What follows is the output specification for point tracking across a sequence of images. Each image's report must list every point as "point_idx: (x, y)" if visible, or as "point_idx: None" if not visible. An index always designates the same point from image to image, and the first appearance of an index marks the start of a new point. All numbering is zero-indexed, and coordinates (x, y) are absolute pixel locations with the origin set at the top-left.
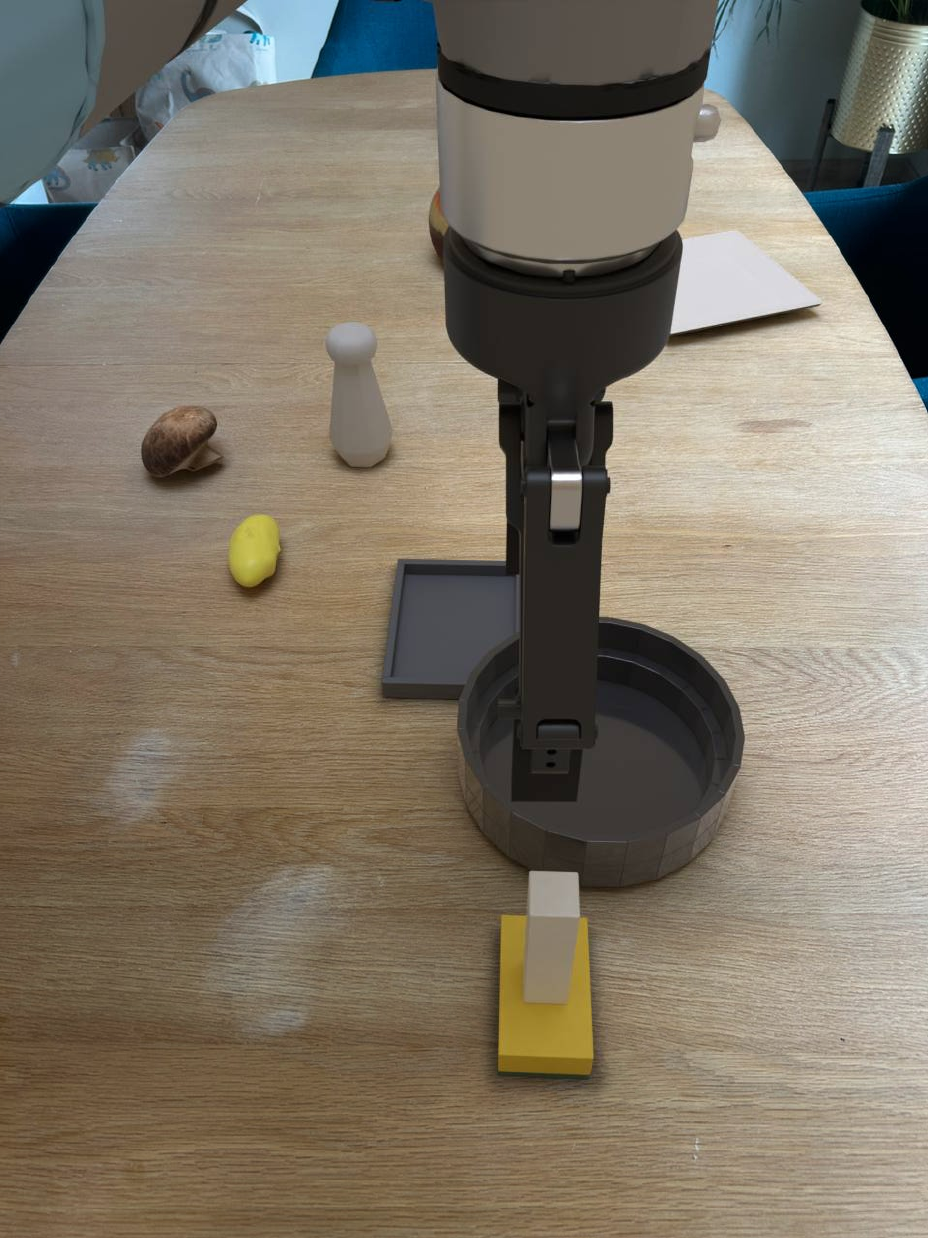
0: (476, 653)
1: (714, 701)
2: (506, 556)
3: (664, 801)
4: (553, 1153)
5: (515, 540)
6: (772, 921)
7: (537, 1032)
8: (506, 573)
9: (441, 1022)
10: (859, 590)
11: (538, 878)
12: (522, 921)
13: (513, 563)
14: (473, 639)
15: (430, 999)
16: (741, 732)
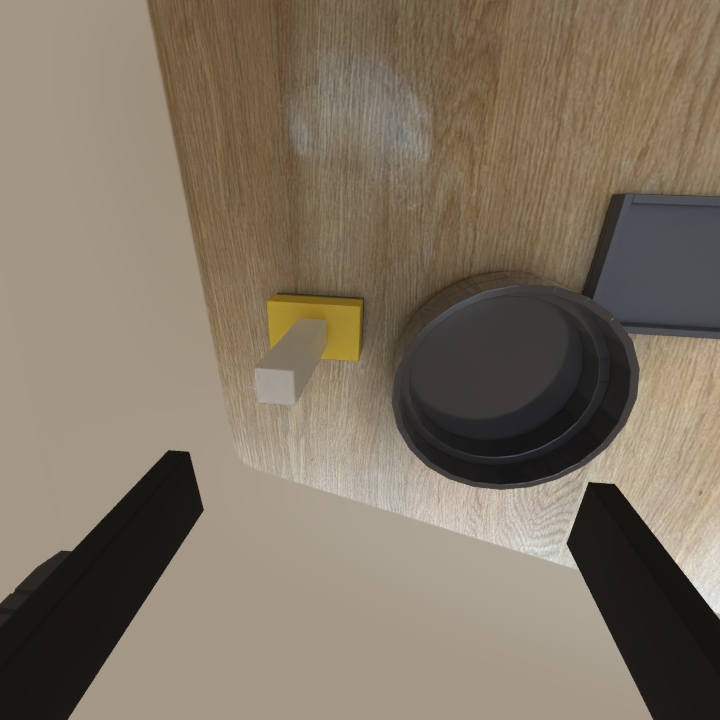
0: (642, 288)
1: (519, 469)
2: (612, 515)
3: (455, 411)
4: (242, 320)
5: (630, 563)
6: (373, 446)
7: (282, 325)
8: (589, 484)
9: (306, 257)
10: None
11: (286, 377)
12: (355, 320)
13: (598, 511)
14: (662, 285)
15: (321, 249)
16: (477, 486)
